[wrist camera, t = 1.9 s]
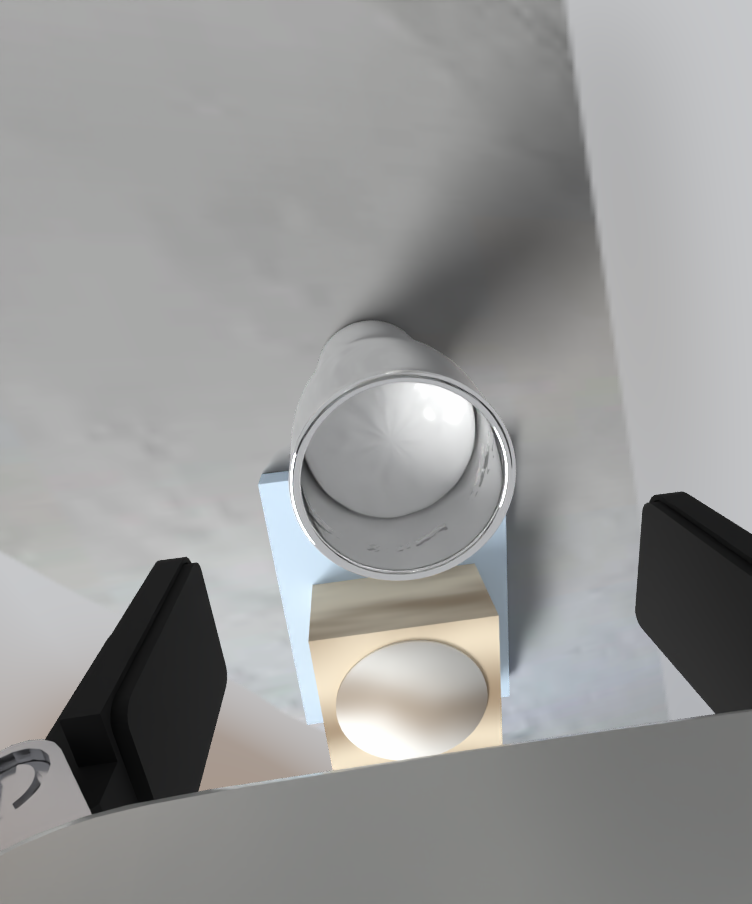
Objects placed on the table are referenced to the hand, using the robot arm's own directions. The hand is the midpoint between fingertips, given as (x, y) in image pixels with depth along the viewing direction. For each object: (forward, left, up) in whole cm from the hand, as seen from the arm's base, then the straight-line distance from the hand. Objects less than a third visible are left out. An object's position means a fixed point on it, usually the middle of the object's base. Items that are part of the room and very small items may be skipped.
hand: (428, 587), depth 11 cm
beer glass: (0, 0, -20) cm, 20 cm away
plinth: (+17, 0, -18) cm, 24 cm away
